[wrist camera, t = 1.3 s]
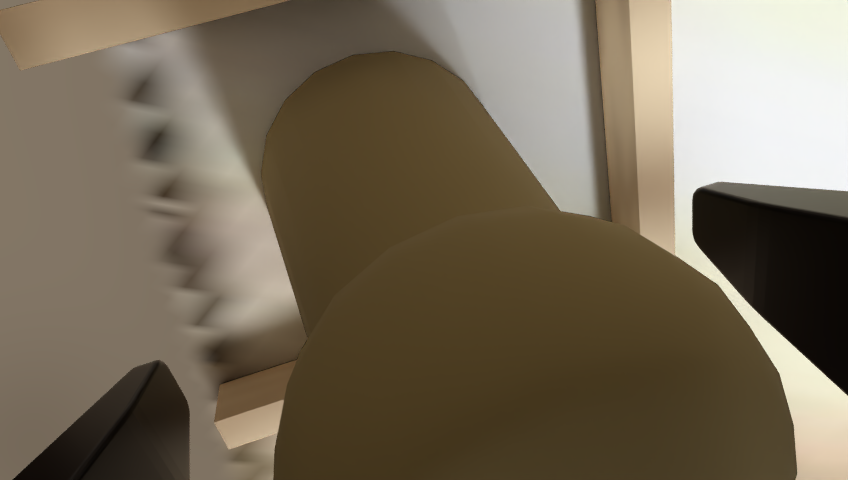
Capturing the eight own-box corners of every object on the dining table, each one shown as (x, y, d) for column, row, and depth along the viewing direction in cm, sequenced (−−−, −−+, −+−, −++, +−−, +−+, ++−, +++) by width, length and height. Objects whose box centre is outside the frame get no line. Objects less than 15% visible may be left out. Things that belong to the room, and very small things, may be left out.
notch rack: (661, 624, 27) (685, 666, 25) (399, 729, 25) (407, 779, 24) (627, -143, 12) (678, -160, 11) (23, 8, 11) (-20, 13, 9)
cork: (398, 317, 16) (574, 836, 6) (210, 199, 14) (22, 776, 4) (543, 154, 15) (1022, 488, 5) (367, -9, 12) (675, 60, 3)
